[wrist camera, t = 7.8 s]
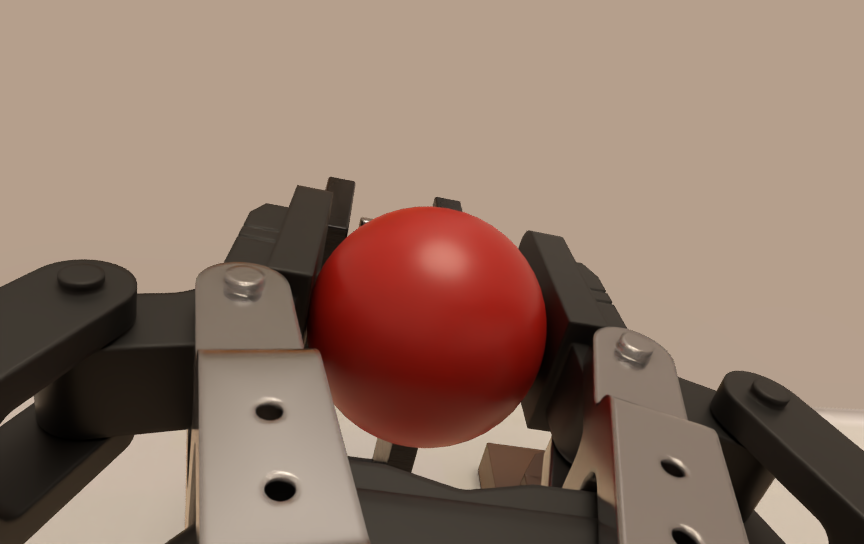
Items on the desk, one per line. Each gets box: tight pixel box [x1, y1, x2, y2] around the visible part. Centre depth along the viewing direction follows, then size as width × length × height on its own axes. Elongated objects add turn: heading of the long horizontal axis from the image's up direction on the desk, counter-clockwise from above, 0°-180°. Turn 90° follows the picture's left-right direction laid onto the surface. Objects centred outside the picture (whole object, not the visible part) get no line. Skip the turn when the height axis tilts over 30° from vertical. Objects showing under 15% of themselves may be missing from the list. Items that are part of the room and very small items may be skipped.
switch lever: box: [307, 207, 547, 448], centre depth 16 cm, size 15×4×4 cm, turn 4°
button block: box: [478, 443, 545, 489], centre depth 31 cm, size 10×8×4 cm
